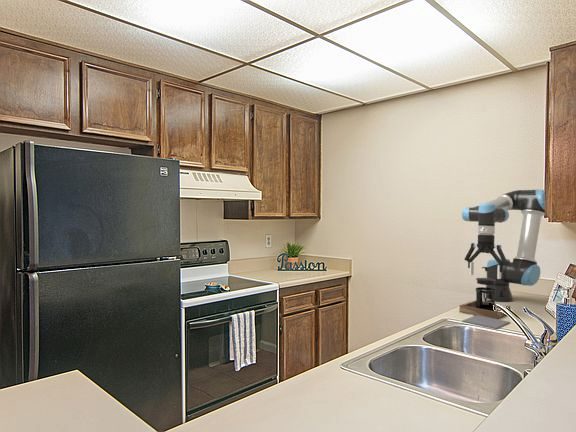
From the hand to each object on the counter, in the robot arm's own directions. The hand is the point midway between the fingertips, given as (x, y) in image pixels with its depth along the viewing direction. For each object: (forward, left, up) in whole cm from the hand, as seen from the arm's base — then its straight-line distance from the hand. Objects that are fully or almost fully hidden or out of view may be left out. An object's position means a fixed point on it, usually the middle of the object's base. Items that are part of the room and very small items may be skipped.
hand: (485, 276), depth 205 cm
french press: (0, 0, -18) cm, 18 cm away
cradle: (0, 0, -18) cm, 18 cm away
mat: (+17, +8, -18) cm, 26 cm away
